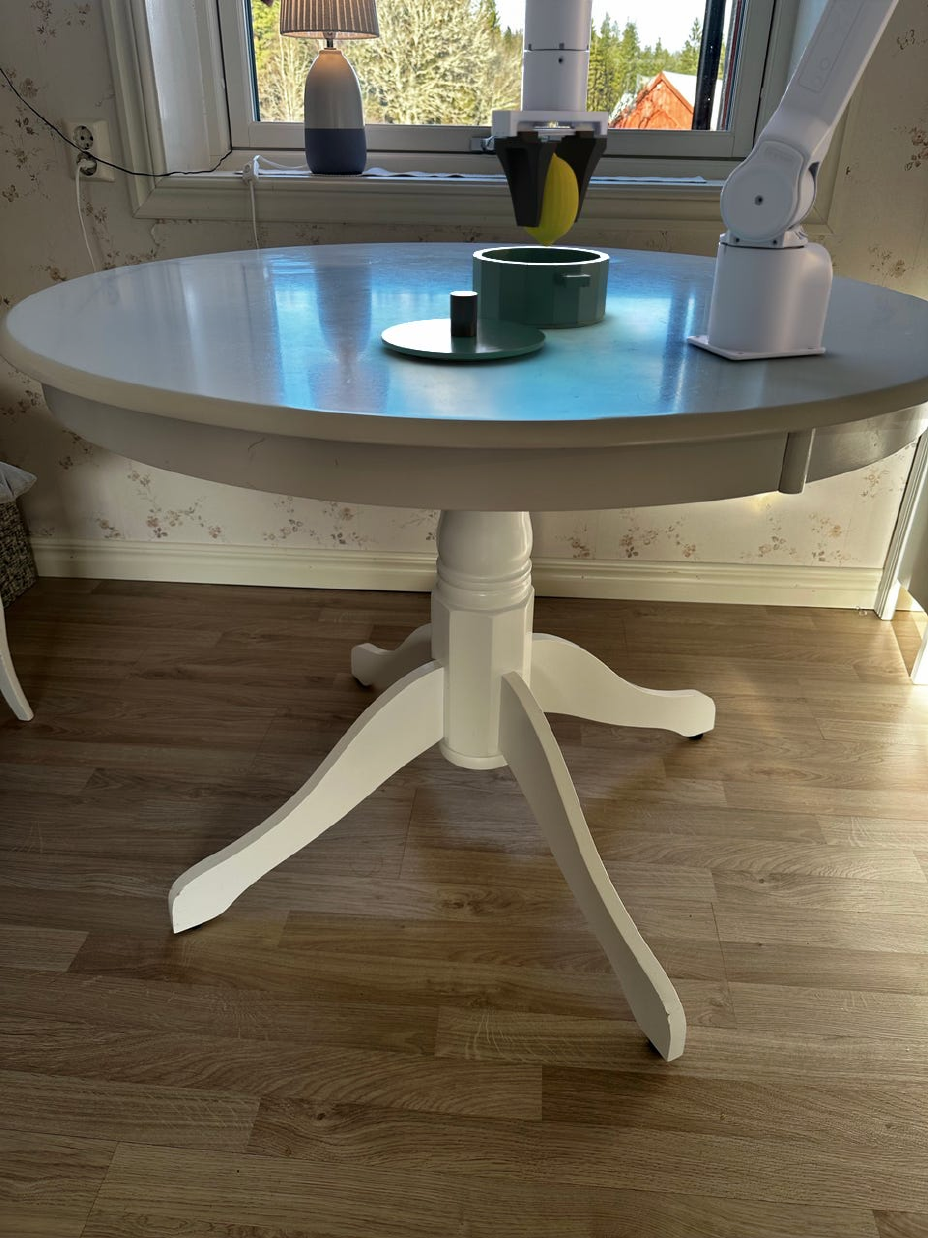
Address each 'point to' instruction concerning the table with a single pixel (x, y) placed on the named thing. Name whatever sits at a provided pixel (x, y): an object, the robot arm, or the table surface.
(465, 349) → the lid
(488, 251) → the pot
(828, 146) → the robot arm
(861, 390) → the table surface
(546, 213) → the lemon
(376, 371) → the table surface
